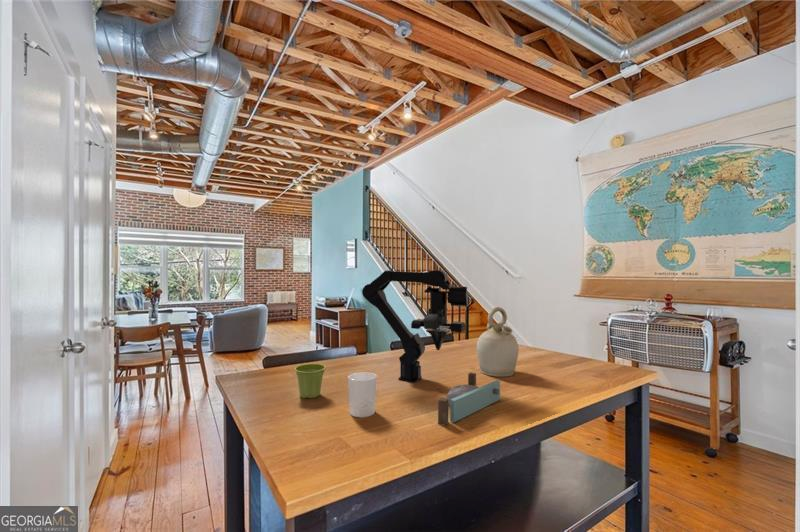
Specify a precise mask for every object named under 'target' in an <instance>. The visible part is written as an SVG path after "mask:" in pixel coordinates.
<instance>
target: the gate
mask: <svg viewBox="0 0 800 532" xmlns="http://www.w3.org/2000/svg"><path fill="white" fill-rule="evenodd" d="M478 387H479V388H477V389H474V390H472V391H470V392H467V393H465V394H462V395H460V396H458V397H455V398H453V399H451V400H450V405H449V422H451V423H456V422H458V421H460V420H462V419H464V418H466V417H468V416H469V415H471V414H474V413H475V412H478V411H480V410H481V409H482V410H483V409H484V408H486V407H488V406H490V405H492V404H494V403H496V402H498V401H499V400H501V380H497V379H496V380H493V381H491V382H489V383H485V384H484V385H482V386H478Z"/></svg>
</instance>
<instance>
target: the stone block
mask: <svg viewBox="0 0 800 532" xmlns="http://www.w3.org/2000/svg"><path fill="white" fill-rule="evenodd" d="M479 387H480V386H477V385H476V386H473V385H468V384H462V385H461V384H460V385H455V386H453V387H452V388H450V390H449V391H448V393H447V394H446V399H448V406H450V400H451V399H453V398H455V397H458V396H460V395H462V394H465V393H467V392H470V391H472V390H474V389H477V388H479Z"/></svg>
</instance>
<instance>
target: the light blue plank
mask: <svg viewBox="0 0 800 532" xmlns="http://www.w3.org/2000/svg"><path fill="white" fill-rule="evenodd" d="M467 379H468V380H467V381H468V382H467V385H473V386H477V373H476V372H469V373H468V374H467ZM437 401H438V402H437V403H438V404H437V409H438V410H437V417H438V418H437V423H438V424H439V425H443V426H447V425H448V423H449V404H448V399H447V397H446V398H444V397H440V398H439V399H438V400H437Z"/></svg>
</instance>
